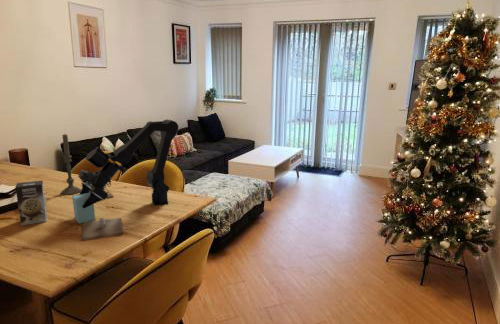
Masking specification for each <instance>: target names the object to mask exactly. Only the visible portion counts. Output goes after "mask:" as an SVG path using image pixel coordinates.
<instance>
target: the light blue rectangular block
mask: <svg viewBox="0 0 500 324" xmlns="http://www.w3.org/2000/svg"><path fill="white" fill-rule="evenodd" d="M79 194H80V193H79ZM79 194H73V195H71V198H72V205H73V213H74V219H75V221H76V223H78V224H84V223H85V222H93V221H96V214H95V203H94V204H92V205H90V206H88V207H86V208H83V207H82V206H83V204H84V203H85V201H86V200H87V198H88V197H89V193H85V194H80V195H79Z"/></svg>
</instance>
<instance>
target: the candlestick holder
mask: <svg viewBox="0 0 500 324" xmlns="http://www.w3.org/2000/svg"><path fill="white" fill-rule="evenodd" d="M62 143H63V150H64V155H63V156H62V157H63V158H62V159H64V160H63V162H64V163H65V164H66V171H67V178H66V181H65V182H66V183H67V184H68V186H67V187H65V188H64V189H63V190H61V194H62V195H65V196H67V195H68V196H69V195H71V196H73V195H78V194H80V192H81V189H82V188H80V187H78V186H75V185H74V182H75V179H74V178H73V177H72V172H71V171H72V165H71V162H72V157H73V156H72V155H70V148H69V138H68V134H62Z"/></svg>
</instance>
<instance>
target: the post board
mask: <svg viewBox="0 0 500 324" xmlns="http://www.w3.org/2000/svg"><path fill="white" fill-rule="evenodd" d="M122 221H123V220H122V217H118V218H117V217H116V218H110V219H105V218H104V217H101V218H99V220H93V221H88V222H84V223H83V229H82V233H81V234H82V236H81V240H82V241H86V240H93V239H101V238H109V237H115V236H121V235H124V231H123V223H122Z"/></svg>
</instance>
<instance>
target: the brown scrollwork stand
mask: <svg viewBox="0 0 500 324" xmlns="http://www.w3.org/2000/svg"><path fill="white" fill-rule="evenodd" d="M106 186H107V187H108V188H109V187H111V186H112V183H111V182H110V183H109V182H108V183H107V184H106ZM106 186H105V187H104V189H105V191H106V192H107V193H108V197H107V198H106V199H110V198H111V199H112V198H114V194H113V193H112V192H110V191H109V190H108V189H107V187H106Z"/></svg>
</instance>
